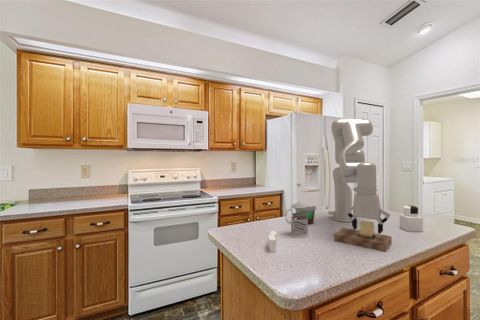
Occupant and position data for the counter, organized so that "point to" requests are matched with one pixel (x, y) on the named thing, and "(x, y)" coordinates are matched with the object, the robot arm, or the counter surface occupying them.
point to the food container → (307, 213)
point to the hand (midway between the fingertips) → (367, 230)
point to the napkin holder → (272, 241)
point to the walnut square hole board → (363, 239)
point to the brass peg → (367, 229)
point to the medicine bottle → (411, 219)
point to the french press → (299, 221)
